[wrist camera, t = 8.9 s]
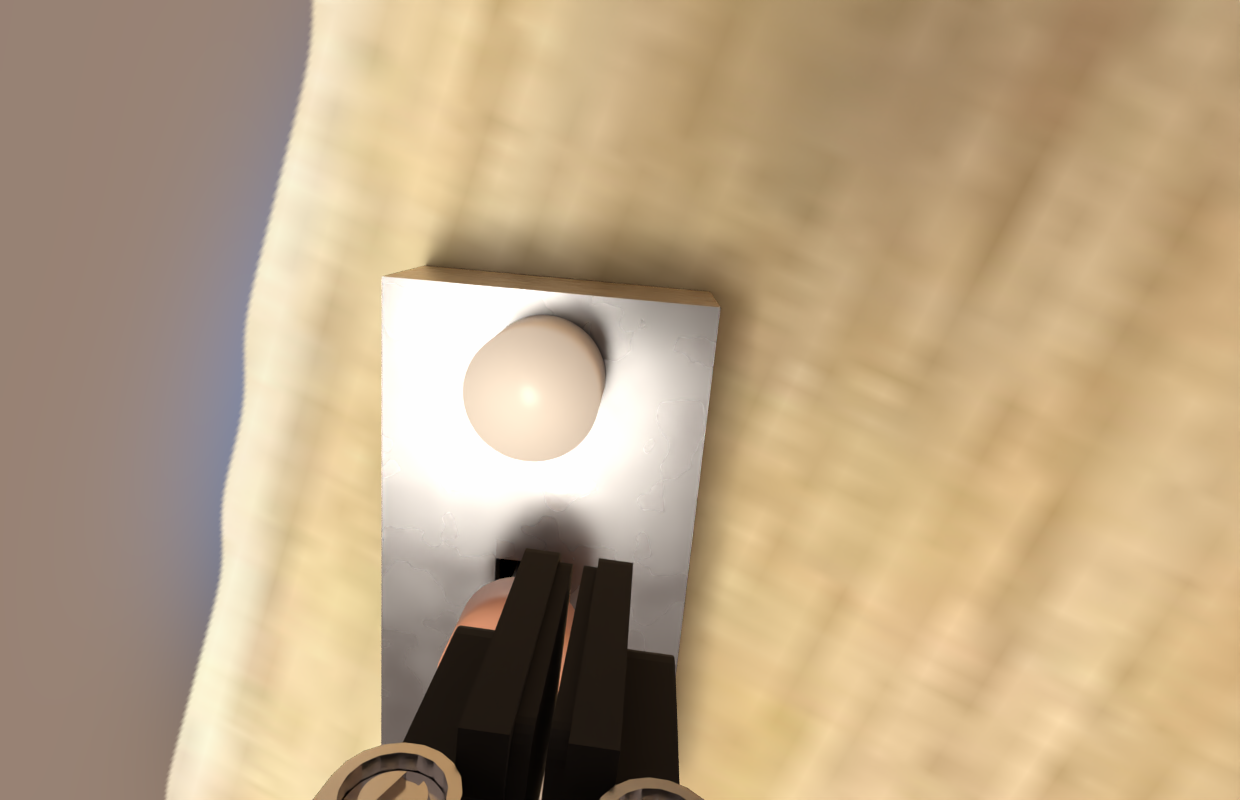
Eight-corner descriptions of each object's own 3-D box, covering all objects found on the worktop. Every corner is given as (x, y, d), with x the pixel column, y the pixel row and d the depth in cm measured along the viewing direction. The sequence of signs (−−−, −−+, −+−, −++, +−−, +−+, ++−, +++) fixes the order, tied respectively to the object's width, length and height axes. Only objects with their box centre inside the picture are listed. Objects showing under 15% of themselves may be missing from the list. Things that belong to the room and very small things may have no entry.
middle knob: (492, 513, 30) (437, 617, 23) (596, 524, 30) (576, 631, 23) (488, 606, 32) (434, 735, 24) (588, 616, 32) (567, 749, 24)
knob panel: (425, 265, 30) (381, 276, 26) (710, 291, 30) (720, 307, 25) (417, 744, 37) (381, 826, 32) (653, 770, 36) (653, 856, 32)
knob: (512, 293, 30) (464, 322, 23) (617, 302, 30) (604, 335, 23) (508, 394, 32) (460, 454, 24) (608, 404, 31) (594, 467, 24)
